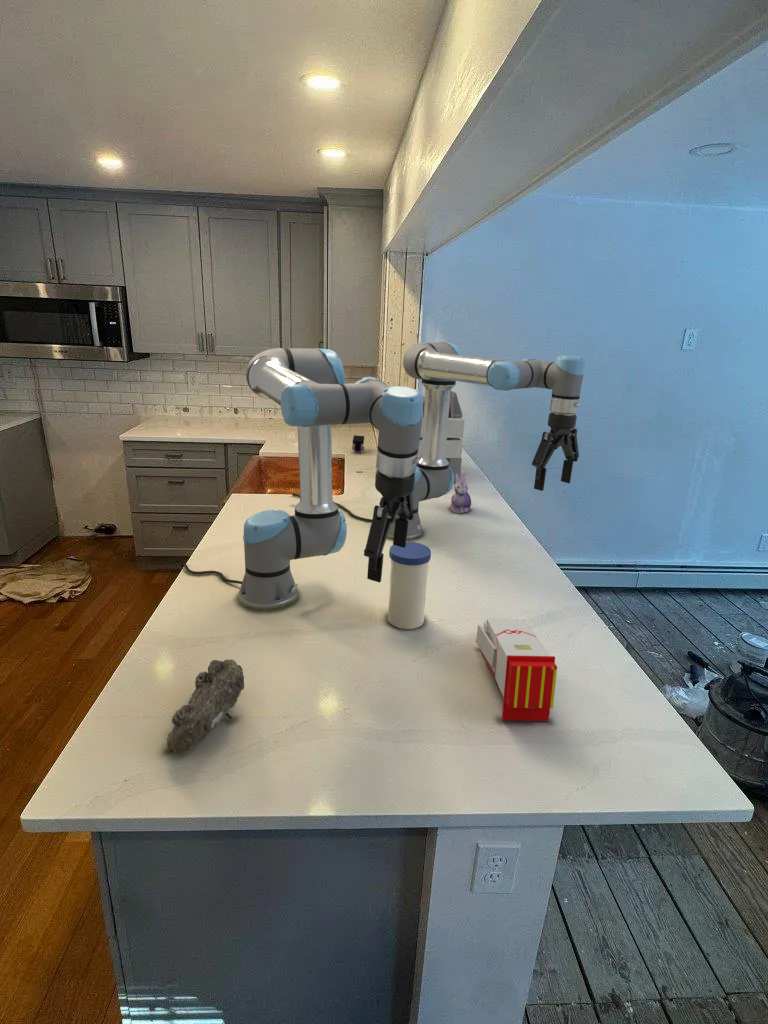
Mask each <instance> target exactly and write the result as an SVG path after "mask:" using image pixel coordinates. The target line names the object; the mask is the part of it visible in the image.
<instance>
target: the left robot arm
mask: <svg viewBox="0 0 768 1024" xmlns="http://www.w3.org/2000/svg"><path fill="white" fill-rule="evenodd" d="M344 370H345V369H344V366H343V363H342V360H341V359H340V356H339V355H338V353H337V352H336V351H334V350H333V349H330V348H329V349H327V348H318V347H315V348H314V347H313V348H311V347H310V348H306V347H305V348H304V347H303V348H302V347H301V348H300V347H299V348H297V347H295V348H293V347H292V348H288V347H287V348H286V347H275V348H269V349H265V350H263V351H261V352H259V353H257V354H256V355H254V356H253V357H252V358H251V360H250V361H249V363H248V364H247V366H246V370H245V380H246V383H247V386H248V387H249V389H250V390H251V391H252V392H253V393H254V394H256V396H259V398H263V399H265V400H272V401H273V402H275V403H276V404H278V405H279V406H280V410H281V416H282V418H283V420H284V421H283V422H284V423H285V424H286V425H287V426H289V427H297V446H298V447H297V448H298V475H299V476H298V477H299V480H298V481H299V494H300V497H299V502H298V503H297V504H296V505H295V506H294V515H289V513H288V512H287V511H285V510H283V509H282V510H281V509H277V510H276V509H268V510H264V511H260V512H256V513H254V514H252V515H251V516H250V517H248V518H247V519H246V520H245V522H244V523H243V536H242V540H243V548H244V549H243V550H244V552H243V553H244V575H243V578H242V580H237V579H236V580H235V579H228V578H226V577H225V576H224V574H223V573H222V572H220V571H217V570H202V571H196V570H195V571H193V570H191V569H190V568H189V567H188V565H187V563H186V562H183V563H181V565H180V567H182V568H183V567H184V568H185V570H186V571H187V573H189V574H191V575H192V574H193V575H205V574H206V575H207V574H216V575H218V576H220V578H221V579H222V580H223V581H225V582H226V583H230V584H238V585H241V586H240V588H239V592H238V597H239V602H240V603H241V604H242V605H243V606H244V607H246V608H248V609H251V610H255V611H276V610H281V609H283V608H286V607H288V606H291V605H292V604H293V603H295V602H296V600H297V598H298V587H299V583H298V582H297V583H296V582H295V579H294V577H293V574H292V572H291V561H295V560H299V559H300V560H301V559H307V558H313V557H320V556H324V557H325V556H328V555H331V554H337V553H338V552H340V551H341V550H342V548H343V547H344V545H345V543H346V539H347V534H348V533H347V531H348V527H347V526H348V525H347V522H346V521H347V519H346V517H345V514H344V513H343V511H341V510H339V506H338V505H337V504H335V503H336V502H335V501H334V500H333V453H332V452H333V450H332V449H333V448H332V447H333V446H332V426H336V425H337V426H338V425H360V424H371V425H372V426H373V428H375V429H376V430H377V431H378V438H377V439H378V440H377V450H376V462H375V468H376V470H375V481H374V487H375V489H376V490H377V492H378V493H380V495H381V496H382V497H381V498H380V500H379V503H378V504H379V505H378V504H377V505H375V506H374V507H373V513H372V518H371V519H372V522H370V523H371V524H370V527H369V532H368V536H367V539H366V544H365V549H364V550H363V556H364V557H367V558H368V561H367V562H368V563H367V574H366V578H367V580H370V581H373V582H376V583H378V584H380V583H381V582H382V576H383V565H384V556H385V555H384V553H383V552H384V551H383V550H384V547H385V544H386V542H387V539H388V538H387V535H388V532H389V529H390V526H391V524H393V523H394V522H395V529H394V539H392V545H396V546H400V547H403V548H405V547H406V542H407V541H408V540H407V531H408V522H409V521H407V519H408V520H413V515H411V514H410V513H412V512H413V501H412V492H413V490H414V484H415V471H416V464H419V462H420V461H419V459H417V455H418V448H419V441H420V433H421V426H422V419H423V397H424V396H423V394H422V392H420V391H419V390H418V389H415V388H411V387H409V386H403V385H400V386H398V385H394V386H390V385H388V383H385V382H384V381H382V380H381V379H378V378H376V377H373V376H364V377H362V378H360V379H358V380H357V381H356V382H354V383H346V376H345V375H346V374H345V371H344ZM334 502H335V503H334ZM388 516H389V517H391V518H387V517H388ZM396 516H398V517H400V518H396Z"/></svg>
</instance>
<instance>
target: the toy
mask: <svg viewBox="0 0 768 1024" xmlns="http://www.w3.org/2000/svg"><path fill="white" fill-rule="evenodd" d="M476 629H477V631H476V638H475V642H476V645H477V646H478V648H479V650H480V652H481V654H482V656H483V658H484V660H485V661H486V664H487V666H488V668H489V669H490V671H491V672H492V675H493V676H494V679H495V681H496V685H497V686H498V688H499V690H500V692H501V695H502V697H503V701H502V712H501V720H502V721H521V722H523V721H526V722H528V721H529V722H550V712H551V709H554V702H555V692H556V681H557V673H558V665H557V664H556V656H555V655H550V654H549V652H548V651H547V650H546V648H545V647H544V645H543V644H542V642H541V641H540V639H539V638H538V637H537V635H536V634H535V632H534V631H533V629H532V627H531V625H530V624H528V623H527V621H526V619H521V618H518V619H515V618H513V619H512V618H486V620H484V621H483V626H482V625H481V624H477V628H476Z"/></svg>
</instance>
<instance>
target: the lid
mask: <svg viewBox="0 0 768 1024" xmlns="http://www.w3.org/2000/svg"><path fill="white" fill-rule="evenodd" d="M388 556H389V559H390V561H391V560H393V561H394V562H396V563H399V564H403V565H422V564H425V563H427V562H428V563H429V562H430V560H431V557H432V550H431V548H430V547H429V546H427V545H426V544H423V543H420V542H416V541H415V542H414V541H406V547H405V548H403V547H400V546H396V545H393V544H392V545H390V547H389V550H388Z"/></svg>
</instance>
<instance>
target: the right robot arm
mask: <svg viewBox="0 0 768 1024" xmlns="http://www.w3.org/2000/svg"><path fill="white" fill-rule="evenodd" d="M585 365H586V360H585V358H584V357H582V356H578V355H566V354H565V355H564V354H563V355H558V356H557V357H556V360H555V361H549V360H541V359H536V358H524V359H521V360H506V359H505V360H504V359H503V360H502V359H496V358H487V357H479V356H471V355H464V354H463V352H462V350H461V349H460V347H459V346H457V345H456V344H455V343H451V342H445V341H443V342H442V341H441V342H440V341H439V342H438V341H437V342H417V343H414V344H412V345H411V346H409V347H408V348H407V350H406V351H405V353H404V355H403V358H402V366H403V369H404V372H405V373H406V374H407V375H408V376H409V377H411V378H412V379H415V380H421V385H422V386H423V387H424V389H425V392H424V397H425V404H424V419H423V434H422V449H421V457H420V458H418V459H419V461H420V462H419V464H416V471H415V484H414V490H413V492H412V501H413V512H412V513H410V514H411V515H413V520H408V519H407V521H409V522H408V531H407V540H406V541H410V540H415V539H418V538H420V537H421V536H422V535H423V525H422V524H421V518H420V515H419V507H420V506H419V505H420V502H423V501H427V500H431V499H437V498H440V497H443V496H446V495H448V493H450V492H451V490H452V489H453V488H454V485H455V483H454V473H452V469H451V467H450V466H449V462H448V461H447V459H446V458H445V453H446V441H447V428H448V416H449V404H450V392H451V391H452V389H453V388H454V387H455V386H456V384H457V382H461V383H465V384H473V385H479V386H487V387H491V388H492V389H494V390H496V391H503V392H504V391H511V390H520V389H532V388H533V389H534V388H539V389H546V390H551V398H550V404H549V413H548V418H547V419H548V420H547V426H548V427H549V428H550V431H549V432H548V431H543V432H542V435H541V440H540V442H539V445H538V447H537V449H536V452H535V454H534V457H533V460H532V461H531V466H533V467H535V475H534V477H535V478H534V485H533V489H534V490H537V491H539V492H543V491H544V489H545V484H546V483H545V482H546V476H547V468H546V466H547V465H548V463H549V461H550V459H551V457H552V456H553V454H554V453H555V451H556V450H557V449H558V448H560V447H561V449H562V452H563V455H564V458H565V459H563V463H562V468H561V469H562V470H561V475H560V482H562V483H566V484H571V478H572V472H573V466H574V463H576V462H578V461H579V457H580V453H579V444H578V428H576V423H577V419H578V416H577V414H578V412H579V411H578V410H579V406H580V397H581V391H582V385H583V380H584V376H585ZM291 496H294V497H298V498H300V493H292V494H291ZM333 502H334V503H335V504H337V505H338V508H341V509H342V510H344V511H345V512H347V513H348V515H350V516H351V517H352V518H354V519H357V520H360V521H364V522H370V523H372V519H373V518H366V517H361V516H358V515H356V514H354V513H352V511H351V510H349V509H348V508H346V507H345V506H344V505H342V504H340V503H338V502H335V501H333ZM387 518H391V517H389V516H388V517H387ZM396 518H400V517H398V516H396ZM394 529H395V522H394V523H393V524H391V526H390V529H389V532H388V535H387V539H389V540H393V539H394Z"/></svg>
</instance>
